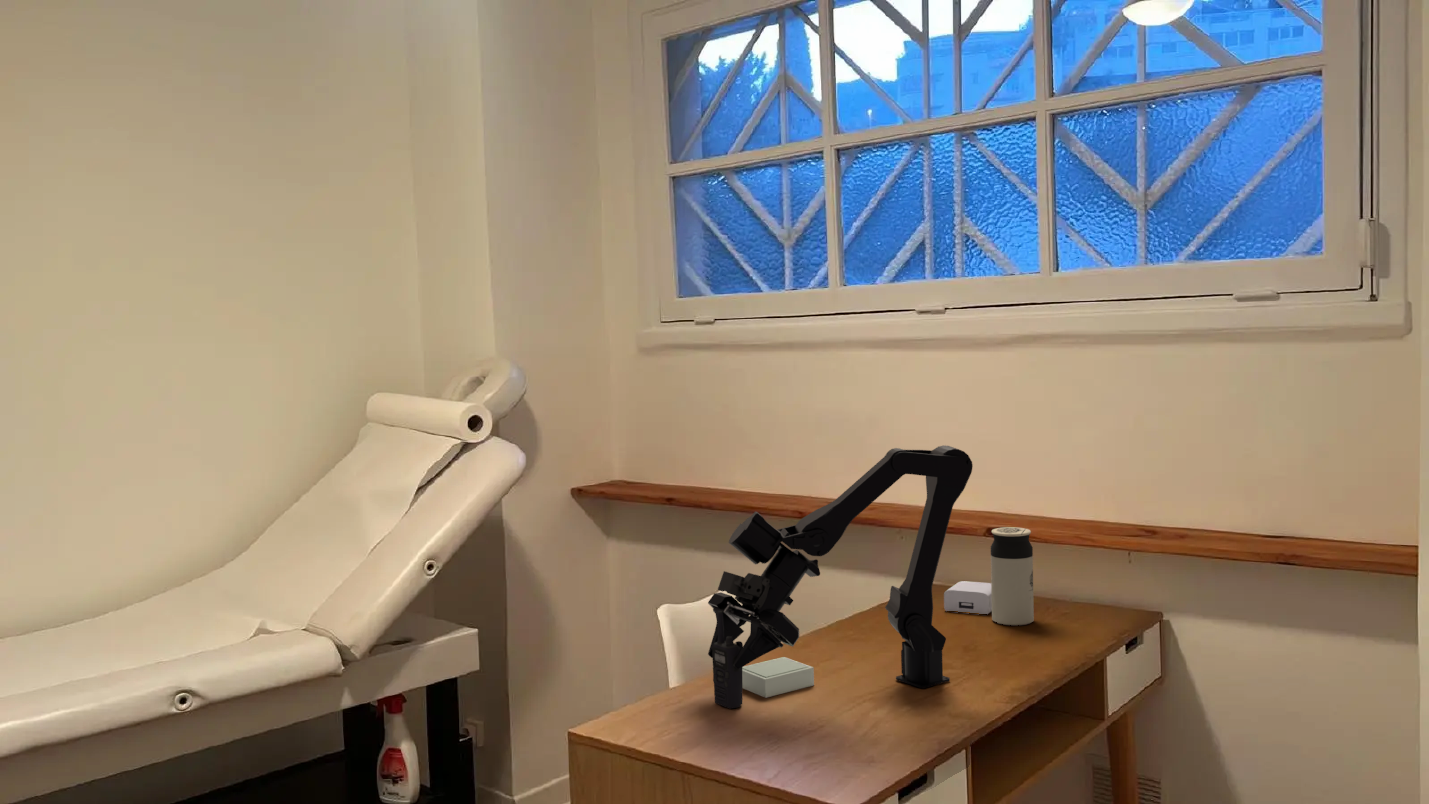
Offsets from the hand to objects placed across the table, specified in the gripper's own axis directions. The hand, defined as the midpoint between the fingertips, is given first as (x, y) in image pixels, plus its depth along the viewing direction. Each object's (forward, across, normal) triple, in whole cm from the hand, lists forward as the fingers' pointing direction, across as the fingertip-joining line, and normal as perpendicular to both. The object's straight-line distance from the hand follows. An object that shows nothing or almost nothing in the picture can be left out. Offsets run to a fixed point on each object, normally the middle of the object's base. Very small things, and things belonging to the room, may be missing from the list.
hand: (722, 661), depth 183 cm
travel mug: (-46, -7, +56) cm, 73 cm away
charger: (-49, -21, +59) cm, 80 cm away
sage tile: (-4, -3, +14) cm, 15 cm away
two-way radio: (+4, 0, +6) cm, 7 cm away
